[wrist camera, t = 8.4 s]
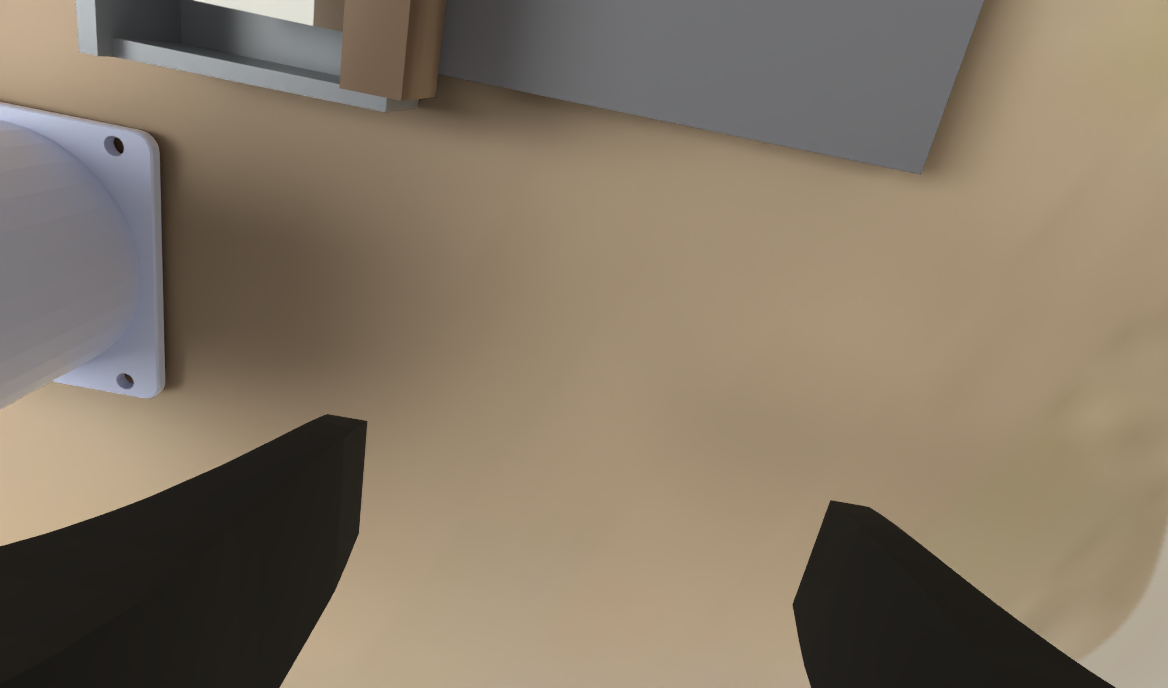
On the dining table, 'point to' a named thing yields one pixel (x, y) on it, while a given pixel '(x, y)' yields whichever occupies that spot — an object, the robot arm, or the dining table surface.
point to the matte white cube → (293, 10)
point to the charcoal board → (732, 65)
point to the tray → (223, 46)
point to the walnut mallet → (392, 47)
